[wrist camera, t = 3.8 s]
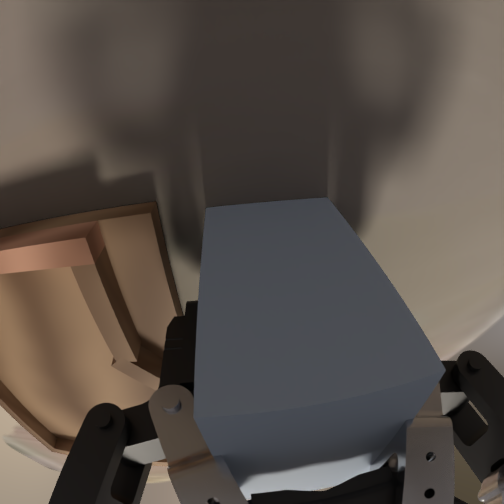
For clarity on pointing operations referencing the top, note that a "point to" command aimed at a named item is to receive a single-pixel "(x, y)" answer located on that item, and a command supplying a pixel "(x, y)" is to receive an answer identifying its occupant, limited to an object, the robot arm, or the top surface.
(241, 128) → the top surface
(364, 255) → the panel block
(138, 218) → the wooden serving tray
